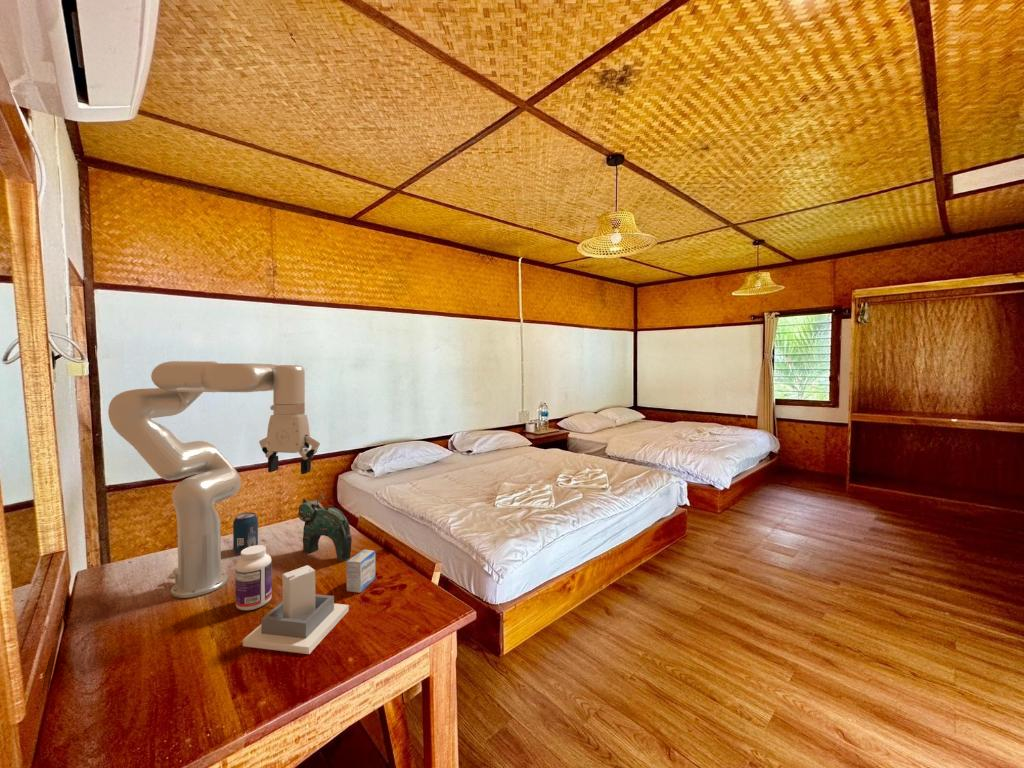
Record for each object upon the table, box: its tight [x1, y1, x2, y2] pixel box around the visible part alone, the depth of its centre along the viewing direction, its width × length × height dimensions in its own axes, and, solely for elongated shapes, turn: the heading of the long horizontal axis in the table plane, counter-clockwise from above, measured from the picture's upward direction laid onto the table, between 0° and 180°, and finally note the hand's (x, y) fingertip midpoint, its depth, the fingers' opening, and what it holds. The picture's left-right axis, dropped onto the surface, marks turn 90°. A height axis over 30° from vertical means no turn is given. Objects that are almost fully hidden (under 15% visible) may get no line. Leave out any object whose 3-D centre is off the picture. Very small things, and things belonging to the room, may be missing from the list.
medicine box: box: [346, 549, 376, 594], centre depth 115 cm, size 8×4×9 cm, turn 168°
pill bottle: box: [234, 544, 273, 611], centre depth 105 cm, size 8×8×14 cm
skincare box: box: [281, 564, 316, 620], centre depth 96 cm, size 6×4×12 cm
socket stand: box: [242, 593, 350, 655], centre depth 96 cm, size 16×16×5 cm
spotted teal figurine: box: [298, 494, 353, 562], centre depth 134 cm, size 20×6×20 cm, turn 67°
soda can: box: [232, 512, 259, 555], centre depth 136 cm, size 7×7×12 cm
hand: (289, 472), depth 111 cm, fingers open, 9 cm apart
